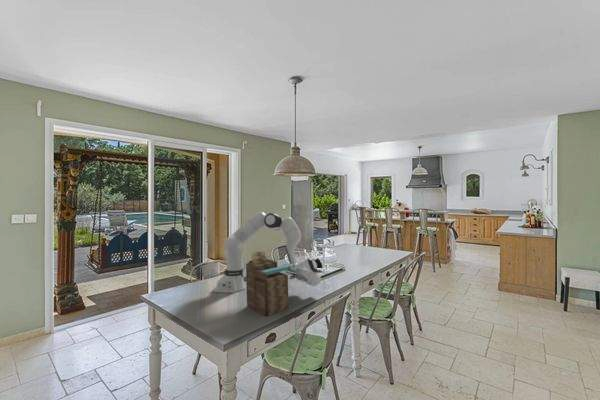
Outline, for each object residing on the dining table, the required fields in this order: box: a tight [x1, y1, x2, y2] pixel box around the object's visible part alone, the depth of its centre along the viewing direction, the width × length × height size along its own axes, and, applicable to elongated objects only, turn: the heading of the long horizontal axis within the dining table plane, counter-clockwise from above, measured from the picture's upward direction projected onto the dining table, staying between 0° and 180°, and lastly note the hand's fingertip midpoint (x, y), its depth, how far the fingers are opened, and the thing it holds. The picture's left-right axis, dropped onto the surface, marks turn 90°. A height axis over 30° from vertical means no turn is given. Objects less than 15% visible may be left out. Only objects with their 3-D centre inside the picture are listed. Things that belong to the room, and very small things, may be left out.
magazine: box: [291, 257, 323, 276], centre depth 243 cm, size 17×3×30 cm
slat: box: [262, 263, 295, 275], centre depth 170 cm, size 22×4×2 cm, turn 132°
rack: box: [245, 250, 290, 317], centre depth 171 cm, size 16×20×32 cm
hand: (287, 266), depth 175 cm, fingers closed on slat, 4 cm apart
